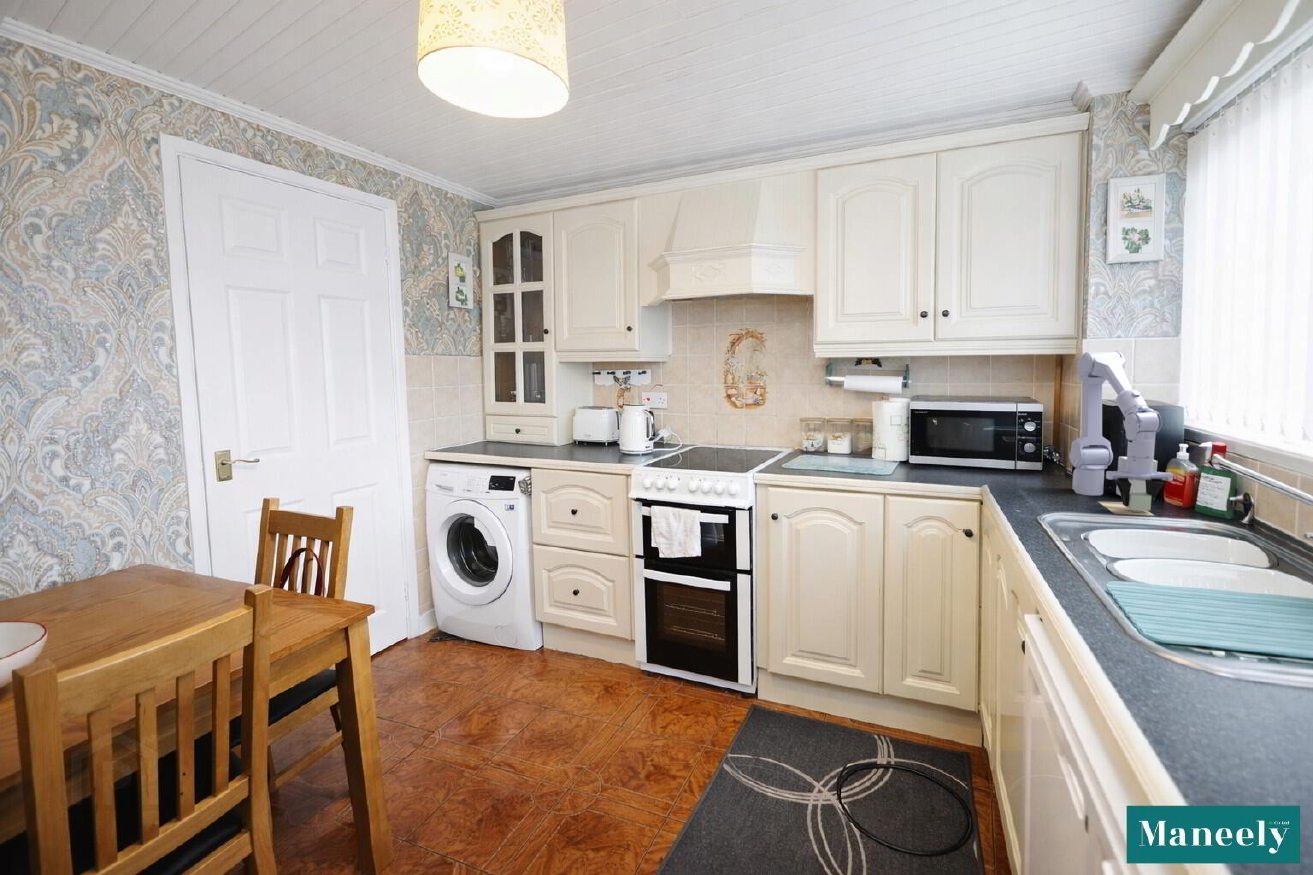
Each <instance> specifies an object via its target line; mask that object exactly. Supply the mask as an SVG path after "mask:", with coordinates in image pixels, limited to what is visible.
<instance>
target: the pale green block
mask: <svg viewBox="0 0 1313 875" xmlns="http://www.w3.org/2000/svg"><path fill="white" fill-rule="evenodd" d="M1125 507H1127V508H1128V509H1130V510H1147V511H1151V508H1152V506H1151V495H1149V494H1147V493H1145V492H1130V493H1129V505H1128V506H1125Z"/></svg>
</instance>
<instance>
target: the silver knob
mask: <svg viewBox="0 0 1313 875" xmlns="http://www.w3.org/2000/svg"><path fill="white" fill-rule="evenodd" d="M1130 511H1131V512H1135V513H1142V511H1143V510H1130Z"/></svg>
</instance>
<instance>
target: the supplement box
mask: <svg viewBox="0 0 1313 875" xmlns="http://www.w3.org/2000/svg"><path fill="white" fill-rule="evenodd" d="M1117 462H1118V463H1117V471H1126V464H1127V456H1118V461H1117ZM1157 470H1158V460H1156V459H1154V460H1153V472H1158V471H1157ZM1128 481H1129V482H1130V483H1131V488H1130V492H1145V493H1146V483H1145V480H1132V479H1128ZM1115 489H1116V491H1115V493H1116V495H1119V496H1120V497H1121V493H1120V491H1119V488H1118V486H1117V485H1116V488H1115ZM1155 498H1156V497H1155ZM1155 498H1154V500H1155Z"/></svg>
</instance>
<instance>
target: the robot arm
mask: <svg viewBox="0 0 1313 875" xmlns="http://www.w3.org/2000/svg"><path fill="white" fill-rule="evenodd" d="M1077 367H1078V368H1077V376H1078V378H1077V379H1078V380H1079V381H1081V435H1080V436H1079V437H1077V438H1076V439H1074V440H1073V441H1072V442H1071V445H1070V446H1071V448H1070V451H1069V455H1068V456H1069V457H1068V458H1069V461H1070V464H1072V466H1073V467H1074V468H1075V469H1074V470H1073V472H1072V486H1071V487H1072V490H1074V493H1075V494H1078V495H1083V496H1102V495H1103V494H1104V481H1105V479H1107V480H1112V481H1113V480H1114V481H1115V484H1116V487H1117V486H1118V488H1119V491H1120V493H1121V496H1120V497H1121V502H1123V505H1124V506H1128V505H1129V493H1130V488H1131V483H1130V482H1129V481H1128V479H1132V480H1145V483H1146V493H1147V494H1149V495H1151V507H1152V505H1153V503H1154V500H1155V499H1154V498H1156V496H1157V494H1158V493H1159V491H1160V490H1161V489H1162V488H1163V487H1164V484H1165V483H1164V482H1163V481H1167V482H1173V479H1174V473H1171V472H1163V471H1157V472H1153V460H1155V447H1156V446H1155V445H1156V434H1157V433H1158V432H1160V431H1161V428H1162V426H1163V420H1162V417H1161V413H1159V411H1157V410H1154V409H1153V408H1150V407H1149V405H1148V404H1147V402H1146V400H1145V399H1144V398H1143V395H1142V394H1141V393H1140V391H1139V390H1136V389H1133V388H1132V385H1131V383H1130V381H1129V379H1128V376H1127V374H1126V371H1125V367H1126V359H1125V356H1124V354H1123V353H1122V352H1121V351H1105V352H1103V351H1101V352H1099V351H1098V352H1089V351H1088V352H1084V353H1083V354H1081V356H1080V358H1078V362H1077ZM1106 381H1107V382H1108V383H1109V384H1110V386H1111V387H1112V389H1113V391H1115V393H1116V394H1117V397H1116V399H1115V401H1116V404H1117V406H1118V408H1119V409H1120V411H1121V413H1122V414H1123V417H1124V421H1123V428H1124V430H1125V438H1126V440H1127V450H1126V452H1127V453H1126V457H1127V464H1126V471H1118V470H1113V471H1112V470H1107V471H1106V472H1105V470H1106V469H1108V466H1110V465H1111V464H1112V461H1113V458H1114V454H1113V451H1112V450H1113V449H1112V446H1111V442H1110V440H1108V439H1107V438H1105V437H1104V436H1103V384H1104V383H1105V382H1106ZM1105 473H1106V474H1105Z"/></svg>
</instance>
